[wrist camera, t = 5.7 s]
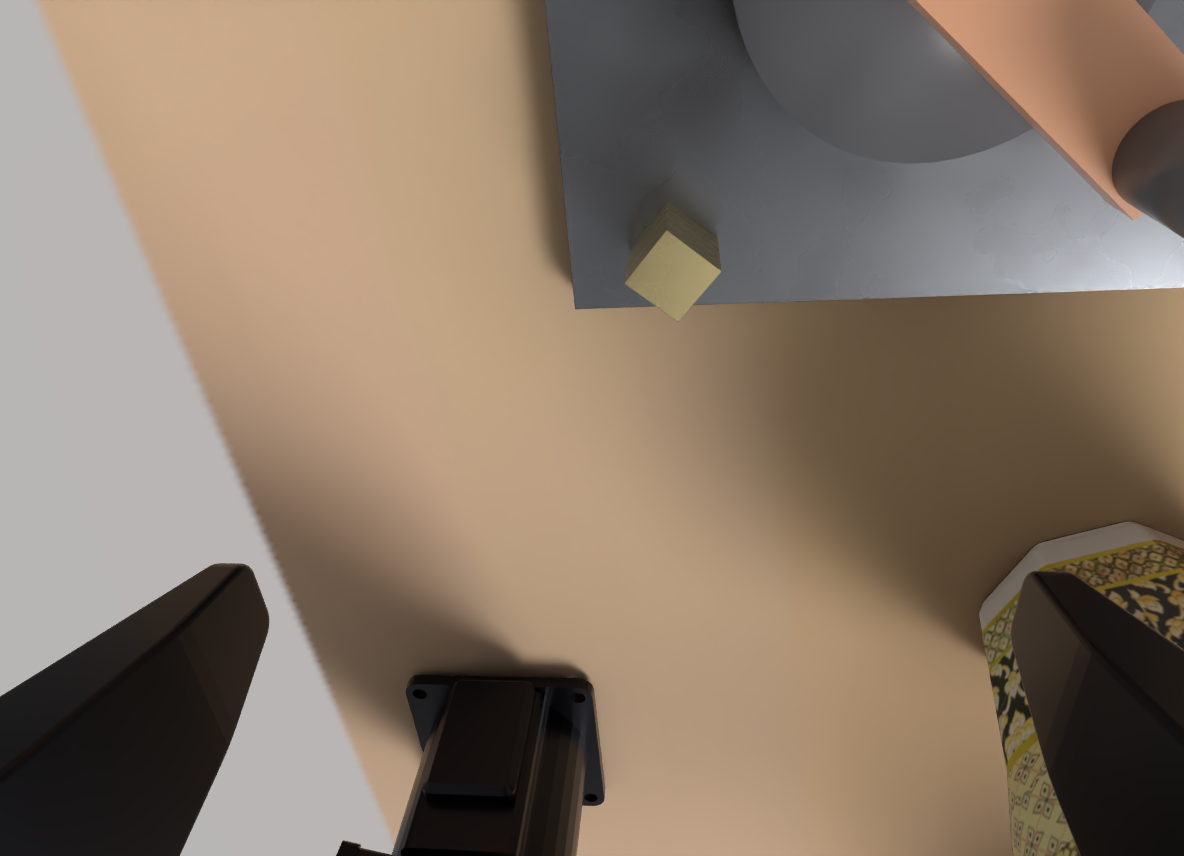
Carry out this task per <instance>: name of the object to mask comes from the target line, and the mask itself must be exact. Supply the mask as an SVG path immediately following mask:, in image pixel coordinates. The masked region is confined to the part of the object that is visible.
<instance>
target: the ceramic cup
mask: <svg viewBox="0 0 1184 856" xmlns="http://www.w3.org/2000/svg"><path fill="white" fill-rule="evenodd" d="M1032 571H1066V572H1070V573H1072V574H1074V575H1076V576H1077V577H1079V578H1080V579H1082V580H1083V581H1085V582H1086V583H1088V584H1089V585H1090V586H1092V587H1093V588H1095V589H1096V590H1098V591H1099V592H1101V593H1102V594H1104V595H1105V596H1106V597H1108V598H1109V599H1111V600H1112V601H1114V602H1115V603H1117V604H1118V605H1119V606H1121V607H1122V608H1124V609H1125V610H1127V611H1128V612H1130V613H1131V614H1133V615H1134V616H1135V617H1137V618H1138V619H1140V620H1141V621H1143V622H1144V623H1146V624H1147V625H1149V626H1150V627H1151V628H1153V629H1154V630H1156V631H1157V632H1159V633H1160V634H1162V635H1163V636H1165V637H1166V638H1167V639H1169V640H1170V641H1172V642H1173V643H1175V644H1176V645H1178V646H1179V647H1180V648H1182V649H1183V650H1184V541H1182V540H1180V539H1177V538H1175V537H1172V536H1170V535H1167V534H1164V533H1162V532H1159V531H1157V530H1154V529H1151V528H1149V527H1146V526H1144V525H1141V524H1138V523H1135V522H1122V523H1118V524H1114V525H1110V526H1106V527H1102V528H1098V529H1094V530H1090V531H1086V532H1082V533H1078V534H1074V535H1070V536H1065V537H1061V538H1057V539H1053V540H1049V541H1045V542H1041V543H1039V544H1037V545H1035V546H1034V547H1033V548H1032V549H1031V550H1030V552H1029V553H1028V554H1027V555H1026V556H1025V557H1024V558H1023V559H1022V560H1021V561H1020V562H1019V564H1018V565H1017V566H1016V567H1015V568H1014V569H1013V570H1012V571H1011V572H1010V573H1009V575H1008V576H1007V577H1006V578H1005V579H1004V580H1003V581H1002V582H1001V583H1000V584H999V585H998V587H997V588H996V589H995V590H994V591H993V592H992V593H991V594H990V595H989V596H988V598H987V599H986V600H985V601H984V602H983V604H982V608H981V610H980V612H979V617H980V623H981V629H982V635H983V644H984V648H985V653H986V657H987V662H988V666H989V672H990V679H991V684H992V690H993V696H994V701H995V707H996V712H997V718H998V723H999V729H1000V735H1001V740H1002V746H1003V751H1004V757H1005V763H1006V768H1007V779H1008V796H1009V813H1010V827H1011V838H1012V849H1013V855H1014V856H1080V854H1079V852H1078V849H1077V847H1076V844H1075V842H1074V839H1073V837H1072V834H1071V832H1070V829H1069V827H1068V824H1067V822H1066V820H1065V817H1064V815H1063V812H1062V810H1061V807H1060V805H1059V802H1058V800H1057V797H1056V794H1055V792H1054V789H1053V786H1052V784H1051V781H1050V778H1049V776H1048V772H1047V769H1046V766H1045V763H1044V759H1043V756H1042V753H1041V749H1040V745H1039V742H1038V738H1037V734H1036V731H1035V727H1034V724H1033V720H1032V716H1031V713H1030V709H1029V706H1028V702H1027V698H1026V695H1025V691H1024V688H1023V684H1022V680H1021V677H1020V673H1019V669H1018V666H1017V662H1016V659H1015V655H1014V651H1013V647H1012V642H1011V625H1012V621H1013V617H1014V613H1015V610H1016V606H1017V602H1018V599H1019V595H1020V591H1021V588H1022V584H1023V581H1024V579H1025V577H1026V576H1027V574H1028V573H1030V572H1032Z"/></svg>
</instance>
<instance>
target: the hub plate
mask: <svg viewBox="0 0 1184 856" xmlns="http://www.w3.org/2000/svg"><path fill="white" fill-rule="evenodd" d="M545 6H546V16H547V27H548V37H549V47H550V57H551V68H552V78H553V88H554V98H555V109H556V119H557V129H558V139H559V150H560V160H561V170H562V180H563V191H564V201H565V211H566V221H567V232H568V242H569V252H570V262H571V273H572V283H573V293H574V303H575V309H594V308H622V307H650V306H657V307H658V308H659V309H661V310H662V311H664V312H665V313H666V314H668V315H669V316H671V317H672V318H673V319H675V320H676V321H677V322H678V321H679V320H680V319H681V318H682V316H683V315H684V314H685V313H686V312H687V311H688V310H689V308H690V307H691V306H692V305H707V304H735V303H763V302H791V301H820V300H848V299H876V298H905V297H933V296H961V295H989V294H1018V293H1046V292H1074V291H1102V290H1131V289H1159V288H1184V238H1182V237H1181V236H1179V235H1177V234H1176V233H1174V232H1173V231H1171V230H1170V229H1168V228H1166V227H1165V226H1163V225H1162V224H1160V223H1158V222H1157V221H1155V220H1154V219H1152V218H1151V217H1149V216H1147V215H1146V214H1142V215H1141V216H1140V217H1139V218H1137V219H1136V220H1135V221H1134V220H1132V219H1131V218H1129V217H1128V216H1126V215H1125V214H1123V213H1122V212H1120V211H1119V210H1117V209H1116V208H1114V207H1113V206H1111V205H1110V204H1108V203H1107V202H1106V201H1105V200H1104V199H1103V198H1102V197H1101V196H1100V195H1099V194H1098V193H1097V192H1096V191H1095V190H1094V189H1093V187H1092V186H1091V185H1090V184H1089V183H1088V182H1087V181H1086V180H1085V179H1084V178H1083V177H1082V176H1081V175H1080V174H1079V173H1078V172H1077V171H1076V170H1075V169H1074V168H1073V167H1072V166H1071V165H1070V164H1069V163H1068V162H1067V161H1066V160H1065V159H1064V158H1063V157H1062V156H1061V155H1060V154H1059V153H1058V152H1057V151H1056V150H1055V149H1054V148H1053V147H1052V146H1051V145H1050V144H1049V143H1048V142H1047V141H1046V140H1045V139H1044V138H1043V137H1042V136H1041V135H1040V134H1039V133H1038V132H1037V131H1036V130H1035V129H1034V128H1032V129H1031V130H1029V131H1027V132H1025V133H1023V134H1021V135H1020V136H1018V137H1016V138H1014V139H1012V140H1010V141H1007V142H1005V143H1003V144H1000V145H998V146H995V147H993V148H991V149H988V150H986V151H982V152H979V153H975V154H972V155H968V156H965V157H962V158H957V159H951V160H945V161H939V162H933V163H910V164H906V163H894V162H883V161H878V160H874V159H869V158H865V157H861V156H857V155H854V154H852V153H849V152H847V151H844V150H841V149H839V148H836V147H834V146H832V145H831V144H829V143H827V142H825V141H823V140H822V139H820V138H818V137H816V136H815V135H813V134H812V133H811V132H809V131H808V130H807V129H805V128H804V127H803V126H802V125H800V124H799V123H798V122H796V121H795V120H794V119H793V118H792V117H791V116H790V115H789V114H788V113H787V112H786V111H785V109H784V108H783V107H782V106H781V105H780V104H779V103H778V102H777V101H776V99H775V98H774V97H773V95H772V94H771V92H770V91H769V90H768V88H767V87H766V85H765V84H764V83H763V81H762V79H761V77H760V75H759V73H758V72H757V70H756V68H755V66H754V64H753V62H752V60H751V58H750V56H749V54H748V52H747V49H746V47H745V44H744V41H743V38H742V36H741V33H740V30H739V27H738V23H737V19H736V14H735V9H734V5H733V0H545ZM1148 15H1149V16H1150V17H1151V18H1152V19H1153V21H1154V22H1155V23H1156V24H1157V25H1158V26H1159V27H1160V28H1161V30H1162V31H1163V32H1164V33H1165V34H1166V35H1167V36H1168V37H1169V39H1170V40H1171V41H1172V42H1173V43H1174V44H1175V45H1176V46H1177V48H1178V49H1179V50H1180V51H1181V52H1182V53H1183V54H1184V0H1155V2H1154V4H1153V6H1152V8H1151V9H1150V11H1149V12H1148Z"/></svg>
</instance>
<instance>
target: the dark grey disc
mask: <svg viewBox="0 0 1184 856" xmlns="http://www.w3.org/2000/svg"><path fill="white" fill-rule="evenodd" d="M1154 2H1155V0H733V5H734V9H735V14H736V19H737V23H738V27H739V30H740V33H741V36H742V38H743V41H744V44H745V47H746V49H747V52H748V54H749V56H750V58H751V60H752V62H753V64H754V66H755V68H756V70H757V72H758V73H759V75H760V77H761V79H762V81H763V83H764V84H765V85H766V87H767V88H768V90H769V91H770V92H771V94H772V95H773V97H774V98H775V99H776V101H777V102H778V103H779V104H780V105H781V106H782V107H783V108H784V109H785V111H786V112H787V113H788V114H789V115H790V116H791V117H792V118H793V119H794V120H795V121H796V122H798V123H799V124H800V125H802V126H803V127H804V128H805V129H807V130H808V131H809V132H811V133H812V134H813V135H815V136H816V137H818V138H820V139H822V140H823V141H825V142H827V143H829V144H831V145H832V146H834V147H836V148H839V149H841V150H844V151H847V152H849V153H852V154H854V155H857V156H861V157H865V158H869V159H874V160H878V161H883V162H894V163H906V164H910V163H933V162H939V161H945V160H951V159H957V158H962V157H965V156H968V155H972V154H975V153H979V152H982V151H986V150H988V149H991V148H993V147H995V146H998V145H1000V144H1003V143H1005V142H1007V141H1010V140H1012V139H1014V138H1016V137H1018V136H1020V135H1021V134H1023V133H1025V132H1027V131H1029V130H1031V129H1032V128H1034V129H1035V130H1036V131H1037V132H1038V133H1039V134H1040V135H1041V136H1042V137H1043V138H1044V139H1045V140H1046V141H1047V142H1048V143H1049V144H1050V145H1051V146H1052V147H1053V148H1054V149H1055V150H1056V151H1057V152H1058V153H1059V154H1060V155H1061V156H1062V157H1063V158H1064V159H1065V160H1066V161H1067V162H1068V163H1069V164H1070V165H1071V166H1072V167H1073V168H1074V169H1075V170H1076V171H1077V172H1078V173H1079V174H1080V175H1081V176H1082V177H1083V178H1084V179H1085V180H1086V181H1087V182H1088V183H1089V184H1090V185H1091V186H1092V187H1093V189H1094V190H1095V191H1096V192H1097V193H1098V194H1099V195H1100V196H1101V197H1102V198H1103V199H1104V200H1105V201H1106V202H1107V203H1108V204H1110V205H1111V206H1113V207H1114V208H1116V209H1117V210H1119V211H1120V212H1122V213H1123V214H1125V215H1126V216H1128V217H1129V218H1131V219H1132V220H1134V221H1135V220H1136V219H1137V218H1139V217H1140V216H1141V215H1142V214H1146V215H1147V216H1149V217H1151V218H1152V219H1154V220H1155V221H1157V222H1158V223H1160V224H1162V225H1163V226H1165V227H1166V228H1168V229H1170V230H1171V231H1173V232H1174V233H1176V234H1177V235H1179V236H1181V237H1182V238H1184V54H1183V53H1182V52H1181V51H1180V50H1179V49H1178V48H1177V46H1176V45H1175V44H1174V43H1173V42H1172V41H1171V40H1170V39H1169V37H1168V36H1167V35H1166V34H1165V33H1164V32H1163V31H1162V30H1161V28H1160V27H1159V26H1158V25H1157V24H1156V23H1155V22H1154V21H1153V19H1152V18H1151V17H1150V16H1149V15H1148V12H1149V11H1150V9H1151V8H1152V6H1153V4H1154Z"/></svg>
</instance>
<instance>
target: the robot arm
mask: <svg viewBox="0 0 1184 856" xmlns="http://www.w3.org/2000/svg"><path fill="white" fill-rule="evenodd" d="M268 628H269V614H268V610H267V608H266V605H265V602H264V599H263V597H262V594H261V591H260V589H259V586H258V583H257V581H256V578H255V575H254V573H253V571H252V569H251V568H250V567H249V566H247V565H245V564H225V563H221V564H214V565H211V566H209V567H208V568H206V569H204V570H203V571H201V572H199V573H198V574H196V575H195V576H193V577H192V578H190V579H188V580H187V581H185V582H183V583H182V584H180V585H179V586H177V587H175V588H174V589H172V590H171V591H169V592H167V593H166V594H164V595H163V596H161V597H159V598H158V599H156V600H154V601H153V602H151V603H150V604H148V605H147V606H145V607H143V608H142V609H140V610H138V611H137V612H135V613H134V614H132V615H130V616H129V617H127V618H126V619H124V620H122V621H121V622H119V623H118V624H116V625H115V626H113V627H111V628H110V629H108V630H106V631H105V632H103V633H101V634H100V635H98V636H97V637H95V638H94V639H92V640H90V641H89V642H87V643H85V644H84V645H83V646H81V647H79V648H77V649H76V650H74V651H73V652H71V653H69V654H68V655H66V656H65V657H63V658H61V659H60V660H58V661H56V662H55V663H53V664H52V665H50V666H49V667H47V668H45V669H44V670H42V671H40V672H39V673H37V674H36V675H34V676H32V677H31V678H29V679H28V680H26V681H24V682H23V683H21V684H20V685H18V686H16V687H15V688H13V689H12V690H10V691H8V692H7V693H5V694H4V695H2V696H0V856H180V854H181V851H182V849H183V847H184V845H185V843H186V840H187V838H188V836H189V834H190V832H191V830H192V828H193V825H194V823H195V821H196V819H197V817H198V814H199V812H200V810H201V808H202V806H203V803H204V801H205V799H206V797H207V795H208V792H209V790H210V788H211V786H212V784H213V781H214V779H215V777H216V775H217V773H218V770H219V768H220V766H221V764H222V761H223V759H224V757H225V754H226V752H227V750H228V747H229V745H230V742H231V740H232V737H233V734H234V731H235V729H236V726H237V723H238V720H239V717H240V714H241V711H242V708H243V705H244V702H245V699H246V696H247V693H248V690H249V687H250V684H251V681H252V678H253V675H254V672H255V669H256V666H257V663H258V660H259V657H260V654H261V652H262V648H263V645H264V643H265V640H266V637H267V633H268ZM1011 642H1012V647H1013V651H1014V655H1015V659H1016V662H1017V666H1018V669H1019V673H1020V677H1021V680H1022V684H1023V688H1024V691H1025V695H1026V698H1027V702H1028V706H1029V709H1030V713H1031V716H1032V720H1033V724H1034V727H1035V731H1036V734H1037V738H1038V742H1039V745H1040V749H1041V753H1042V756H1043V759H1044V763H1045V766H1046V769H1047V772H1048V776H1049V778H1050V781H1051V784H1052V786H1053V789H1054V792H1055V794H1056V797H1057V800H1058V802H1059V805H1060V807H1061V810H1062V812H1063V815H1064V817H1065V820H1066V822H1067V824H1068V827H1069V829H1070V832H1071V834H1072V837H1073V839H1074V842H1075V844H1076V847H1077V849H1078V852H1079V854H1080V856H1184V650H1183V649H1182V648H1180V647H1179V646H1178V645H1176V644H1175V643H1173V642H1172V641H1170V640H1169V639H1167V638H1166V637H1165V636H1163V635H1162V634H1160V633H1159V632H1157V631H1156V630H1154V629H1153V628H1151V627H1150V626H1149V625H1147V624H1146V623H1144V622H1143V621H1141V620H1140V619H1138V618H1137V617H1135V616H1134V615H1133V614H1131V613H1130V612H1128V611H1127V610H1125V609H1124V608H1122V607H1121V606H1119V605H1118V604H1117V603H1115V602H1114V601H1112V600H1111V599H1109V598H1108V597H1106V596H1105V595H1104V594H1102V593H1101V592H1099V591H1098V590H1096V589H1095V588H1093V587H1092V586H1090V585H1089V584H1088V583H1086V582H1085V581H1083V580H1082V579H1080V578H1079V577H1077V576H1076V575H1074V574H1072V573H1070V572H1066V571H1032V572H1030V573H1028V574H1027V576H1026V577H1025V579H1024V581H1023V584H1022V588H1021V591H1020V595H1019V599H1018V602H1017V606H1016V610H1015V613H1014V617H1013V621H1012V625H1011ZM579 693H581V694H579ZM406 696H407V699H408V703H409V706H410V709H411V713H412V716H413V719H414V723H415V726H416V730H417V733H418V736H419V740H420V743H421V747H422V750H423V756H422V759H421V763H420V766H419V769H418V772H417V775H416V778H415V782H414V785H413V788H412V791H411V794H410V798H409V801H408V804H407V807H406V810H405V814H404V817H403V820H402V823H401V826H400V830H399V833H398V836H397V839H396V842H395V846H394V849H393V852H392V855H390V854H385V853H381V852H376V851H372V850H367V849H363V848H360V847H361V845H360V844H357V843H352V842H348V841H342V844H341V846H340V848H339V850H338V853H337V855H336V856H576V855H577V846H578V838H579V829H580V820H581V812H582V805H584V806H596V805H599V804H601V803H603V802H604V797H605V782H604V773H603V765H602V756H601V747H600V739H599V730H598V721H597V712H596V704H595V695H594V688H593V686H592V684H591V683H590V682H588V681H586V680H584V679H579V678H536V677H490V676H444V675H416V676H414V677H412V678H411V679H410V680H409V683H408V686H407V688H406Z"/></svg>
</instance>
